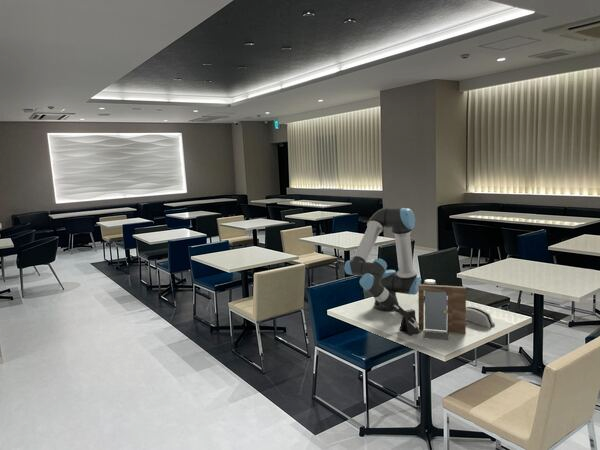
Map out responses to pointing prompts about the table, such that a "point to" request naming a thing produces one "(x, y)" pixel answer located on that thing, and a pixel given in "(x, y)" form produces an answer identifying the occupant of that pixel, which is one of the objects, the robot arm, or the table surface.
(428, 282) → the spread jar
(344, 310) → the table surface
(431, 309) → the door
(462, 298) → the door frame
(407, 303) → the table surface
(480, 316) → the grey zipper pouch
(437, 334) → the mat
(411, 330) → the phone stand
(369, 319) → the table surface
